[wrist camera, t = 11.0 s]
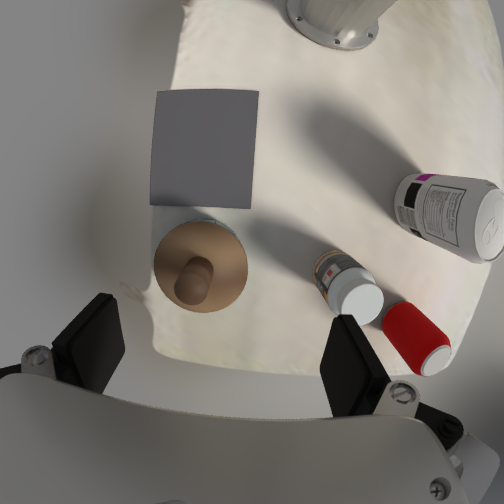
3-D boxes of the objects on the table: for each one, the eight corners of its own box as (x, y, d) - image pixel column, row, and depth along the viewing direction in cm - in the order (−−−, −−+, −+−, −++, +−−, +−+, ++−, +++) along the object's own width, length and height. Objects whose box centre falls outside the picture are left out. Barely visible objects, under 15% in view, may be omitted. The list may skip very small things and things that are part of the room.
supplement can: (417, 160, 30) (499, 164, 15) (444, 207, 31) (520, 230, 17) (380, 199, 31) (459, 221, 17) (410, 244, 33) (483, 285, 18)
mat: (158, 92, 27) (157, 91, 26) (258, 92, 27) (258, 91, 27) (150, 204, 31) (149, 204, 30) (250, 208, 31) (250, 209, 31)
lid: (155, 219, 27) (133, 231, 21) (250, 222, 28) (251, 236, 22) (159, 305, 30) (143, 332, 24) (245, 310, 30) (245, 340, 25)
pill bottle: (303, 279, 34) (323, 318, 24) (328, 240, 32) (358, 267, 23) (337, 297, 35) (364, 338, 25) (361, 262, 33) (398, 293, 24)
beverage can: (383, 300, 35) (426, 346, 24) (416, 296, 35) (462, 336, 24) (375, 336, 37) (410, 386, 25) (407, 331, 37) (445, 375, 25)
